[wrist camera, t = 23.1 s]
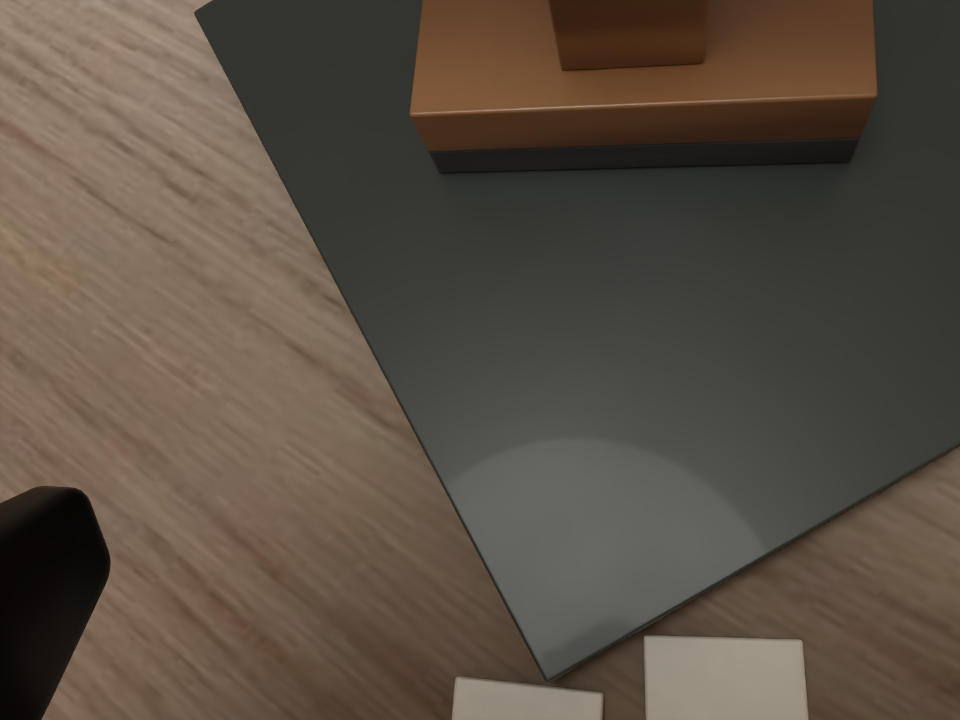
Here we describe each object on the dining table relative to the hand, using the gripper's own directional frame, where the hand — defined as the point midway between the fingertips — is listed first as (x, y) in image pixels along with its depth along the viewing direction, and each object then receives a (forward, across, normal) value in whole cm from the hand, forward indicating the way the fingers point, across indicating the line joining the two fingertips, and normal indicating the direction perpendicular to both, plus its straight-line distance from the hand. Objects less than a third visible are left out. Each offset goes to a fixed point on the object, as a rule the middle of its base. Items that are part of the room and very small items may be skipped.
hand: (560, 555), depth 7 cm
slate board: (+16, -1, 0) cm, 16 cm away
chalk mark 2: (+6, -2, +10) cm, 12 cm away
